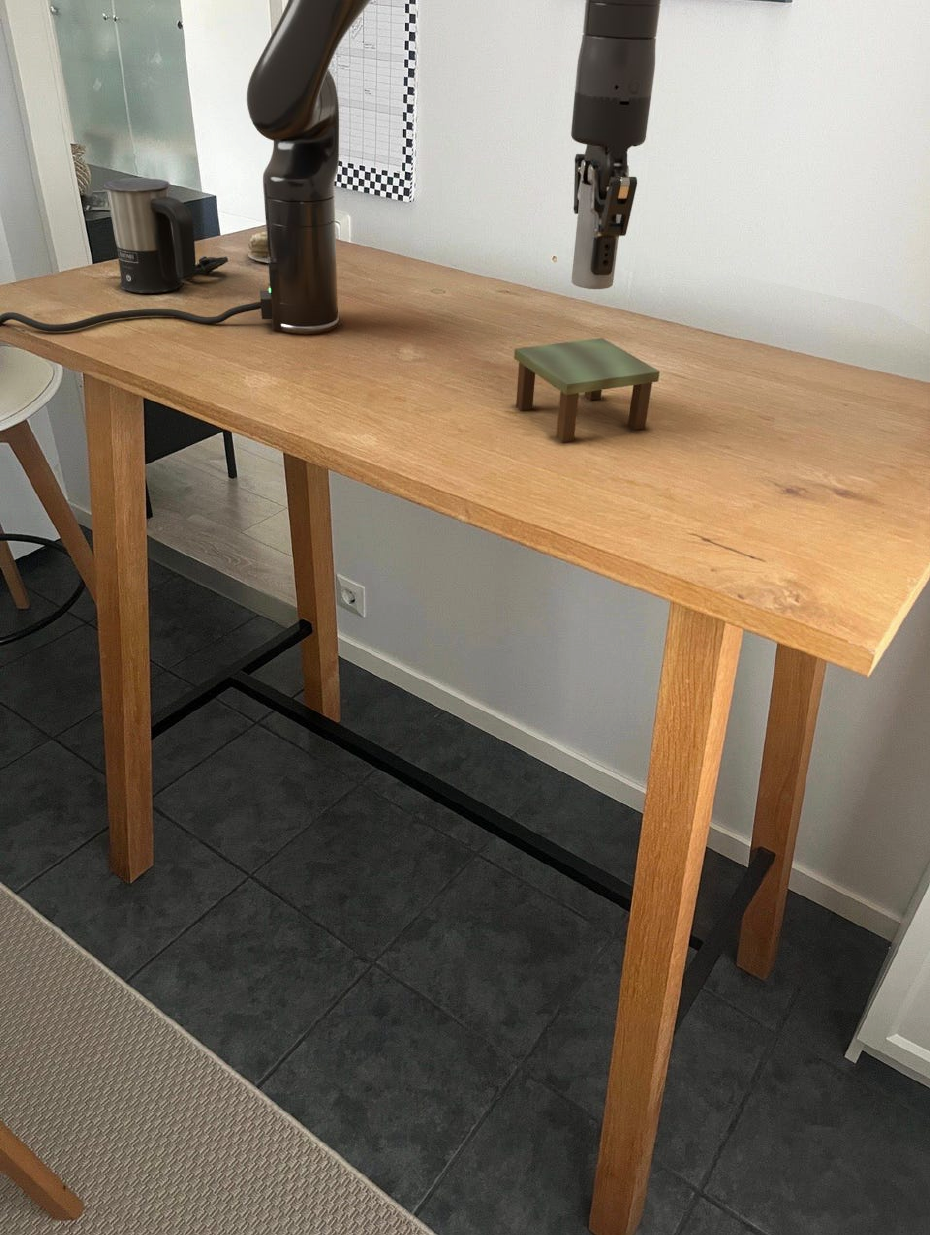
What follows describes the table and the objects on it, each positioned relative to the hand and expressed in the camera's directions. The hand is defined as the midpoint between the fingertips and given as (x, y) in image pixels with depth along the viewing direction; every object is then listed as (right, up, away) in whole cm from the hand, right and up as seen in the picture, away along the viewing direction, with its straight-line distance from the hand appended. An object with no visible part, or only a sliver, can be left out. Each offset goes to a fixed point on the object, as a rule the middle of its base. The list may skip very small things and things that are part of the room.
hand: (593, 266), depth 106 cm
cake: (-46, +23, +62) cm, 81 cm away
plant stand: (0, -14, +9) cm, 17 cm away
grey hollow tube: (0, -2, +1) cm, 2 cm away
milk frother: (-59, +14, +48) cm, 78 cm away
